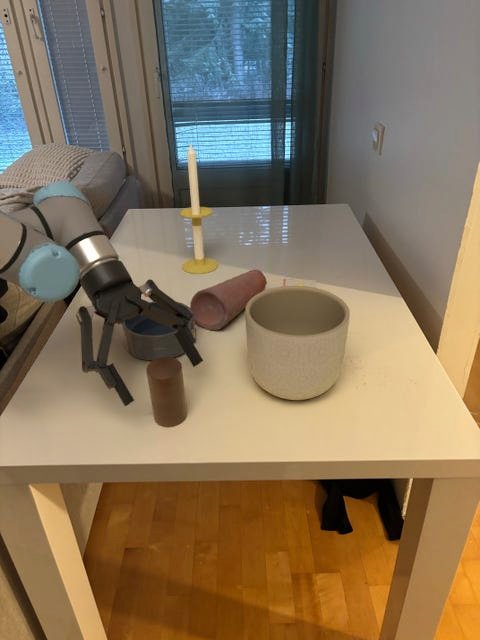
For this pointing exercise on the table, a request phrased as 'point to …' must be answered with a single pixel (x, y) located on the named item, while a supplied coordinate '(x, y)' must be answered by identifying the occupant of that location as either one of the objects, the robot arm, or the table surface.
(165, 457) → the table surface
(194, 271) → the candle
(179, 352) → the bowl
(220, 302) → the pink vase
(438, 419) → the table surface
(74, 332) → the table surface
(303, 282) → the tea bag
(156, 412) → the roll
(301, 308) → the planter
